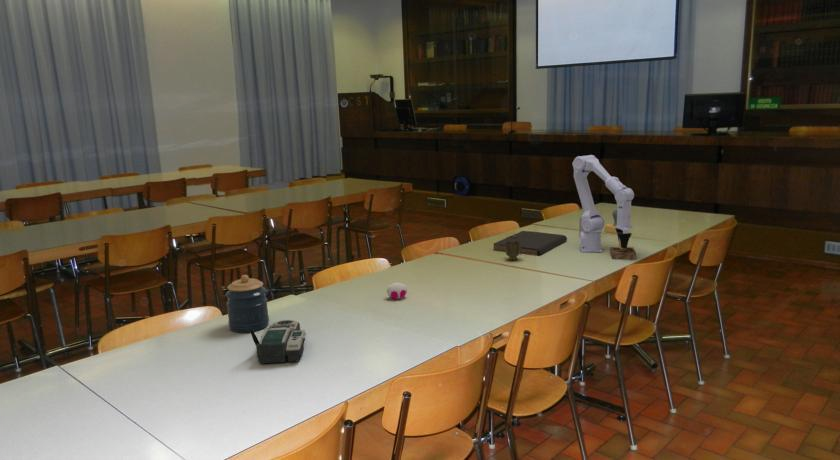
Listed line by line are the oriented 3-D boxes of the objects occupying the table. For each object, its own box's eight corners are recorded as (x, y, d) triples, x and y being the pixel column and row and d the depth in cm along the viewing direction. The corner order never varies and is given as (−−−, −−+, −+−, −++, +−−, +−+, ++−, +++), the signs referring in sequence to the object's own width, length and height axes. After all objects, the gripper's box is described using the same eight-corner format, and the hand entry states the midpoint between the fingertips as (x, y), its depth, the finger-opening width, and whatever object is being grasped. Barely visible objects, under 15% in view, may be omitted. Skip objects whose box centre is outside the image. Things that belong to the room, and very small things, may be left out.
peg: (619, 257, 277) (619, 239, 275) (617, 255, 280) (618, 238, 278) (626, 257, 276) (627, 239, 274) (625, 255, 279) (625, 238, 278)
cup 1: (520, 257, 282) (520, 240, 280) (521, 261, 275) (521, 244, 273) (504, 257, 283) (504, 240, 281) (504, 261, 276) (504, 244, 274)
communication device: (311, 329, 204) (309, 298, 202) (302, 363, 176) (300, 328, 174) (267, 331, 203) (265, 300, 201) (251, 366, 175) (248, 331, 173)
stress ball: (389, 309, 229) (390, 297, 224) (384, 292, 234) (385, 280, 229) (409, 306, 230) (410, 294, 226) (404, 289, 236) (405, 278, 231)
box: (612, 259, 274) (612, 252, 273) (609, 253, 284) (609, 247, 283) (636, 259, 272) (636, 252, 272) (632, 253, 282) (632, 247, 281)
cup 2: (598, 238, 313) (598, 219, 311) (581, 239, 314) (581, 219, 311) (593, 235, 322) (594, 216, 320) (577, 235, 322) (578, 216, 320)
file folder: (522, 229, 323) (567, 234, 310) (522, 237, 324) (566, 242, 311) (492, 243, 296) (539, 248, 283) (492, 251, 297) (539, 257, 284)
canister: (253, 317, 216) (249, 267, 212) (277, 324, 207) (273, 273, 204) (220, 328, 206) (215, 276, 202) (244, 336, 198) (239, 283, 194)
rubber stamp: (604, 232, 328) (604, 209, 325) (609, 230, 332) (609, 208, 329) (622, 234, 321) (623, 211, 319) (627, 232, 325) (627, 209, 323)
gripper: (635, 219, 266) (634, 250, 269) (630, 213, 280) (629, 242, 283) (618, 219, 268) (617, 250, 271) (614, 212, 282) (613, 242, 284)
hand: (622, 246), depth 277 cm, fingers open, 7 cm apart
